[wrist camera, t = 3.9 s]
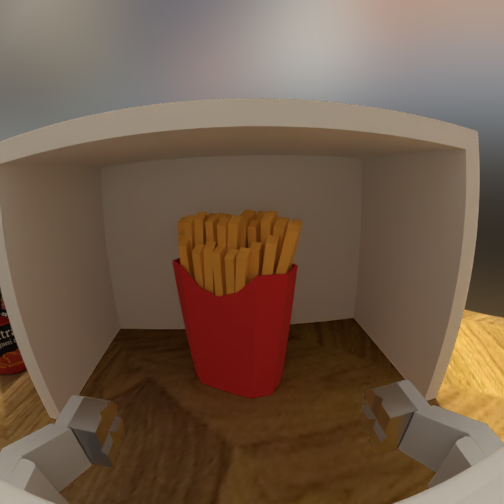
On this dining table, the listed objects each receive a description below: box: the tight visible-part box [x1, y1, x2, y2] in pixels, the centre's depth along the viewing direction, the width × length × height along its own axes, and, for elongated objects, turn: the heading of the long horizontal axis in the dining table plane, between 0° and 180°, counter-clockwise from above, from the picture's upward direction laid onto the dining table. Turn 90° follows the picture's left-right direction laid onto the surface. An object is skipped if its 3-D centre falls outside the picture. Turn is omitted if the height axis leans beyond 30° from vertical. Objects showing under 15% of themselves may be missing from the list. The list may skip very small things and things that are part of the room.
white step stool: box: [0, 98, 479, 419], centre depth 20 cm, size 26×15×17 cm, turn 94°
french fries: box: [172, 209, 303, 398], centre depth 19 cm, size 8×4×12 cm, turn 65°
